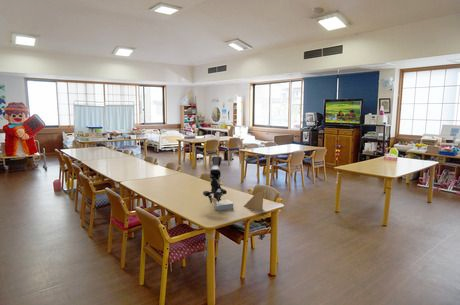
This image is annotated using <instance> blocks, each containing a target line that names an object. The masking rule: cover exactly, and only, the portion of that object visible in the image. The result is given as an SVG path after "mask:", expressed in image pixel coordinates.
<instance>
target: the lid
mask: <svg viewBox="0 0 460 305" xmlns="http://www.w3.org/2000/svg"><path fill="white" fill-rule="evenodd" d="M212 198H213V197H212ZM211 204H213V206H214V205H216V206H222V205H229V204H233V205H235V204H234V202H232V201H231V200H230V199H221V200H219V203H218V200H217V199H215V198H213V199H212V203H211Z"/></svg>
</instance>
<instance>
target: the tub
mask: <svg viewBox="0 0 460 305" xmlns="http://www.w3.org/2000/svg"><path fill="white" fill-rule="evenodd" d="M213 208H214V209H216V210H217V211H218V212H221V211H222V212H223V211H229V210H230V211H231V210H234V204H229V205H222V206H216V205H214V204H213Z"/></svg>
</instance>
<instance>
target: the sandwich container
mask: <svg viewBox="0 0 460 305" xmlns="http://www.w3.org/2000/svg"><path fill="white" fill-rule="evenodd" d="M263 204H264V191H261V192H257V193H255V194H254V195H253V196H252V197H251V198H249V200H248V201H247V202H246V203H245V204H244V205H243V208H246V209H249V210H251V211H253V212H258V211H261V210H264V209H263V206H264V205H263Z"/></svg>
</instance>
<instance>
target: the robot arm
mask: <svg viewBox="0 0 460 305" xmlns="http://www.w3.org/2000/svg"><path fill="white" fill-rule="evenodd" d="M211 161H212V167H211V170H210V173H209V174H210V175H209V178H210V179H211V180H210V187H211V189H210V191H209V190H204V191H203V192H202V195H203V196H204V197H207V198H208V200H209V202H210V204H213V203H212V202H213V198H215V199H217V201H218V203H219V201H221V200H222V199H221V198H222V196H224V195H227V193H228V192H227V190H226V189H224V188H222V186H221V183H220V178H221V176H222V172H221V169H220V166H221V164H222V161H223V158H222V157H221V156H219V155H214V156H212V157H211Z"/></svg>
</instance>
